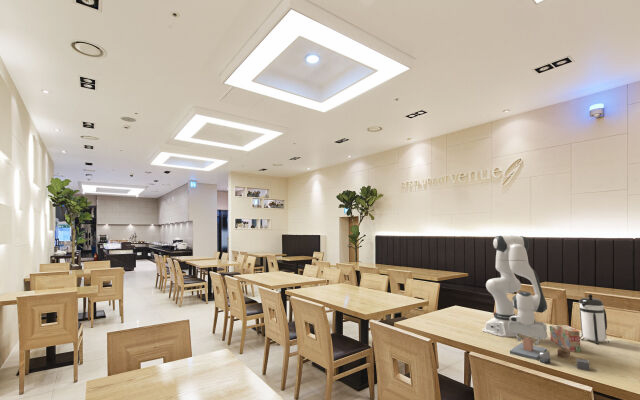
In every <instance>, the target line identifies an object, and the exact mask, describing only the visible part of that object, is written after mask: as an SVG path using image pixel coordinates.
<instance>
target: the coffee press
mask: <svg viewBox="0 0 640 400" xmlns="http://www.w3.org/2000/svg"><path fill="white" fill-rule="evenodd" d="M587 296H588V297H581V298H580V299H579V300H578V304H579V316H580V317H579V318H580V328H581V335H580V341H583V340H589V341H593V342H595V345H598V346H599V344H600V342H605V343H607V342H608V343H607V344H609V343H610V341H609V340H608V338H607V332H606V331H607V329H608V321H607V320H608V319H607V311H606V309H605V308H604V306H605V305H604V303H603V301H602V300H601V299H598V298H596V297H593V295H592V294H591V293H590V294H588V295H587ZM582 337H583V338H582ZM606 340H607V341H606Z"/></svg>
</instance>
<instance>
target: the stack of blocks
mask: <svg viewBox="0 0 640 400" xmlns="http://www.w3.org/2000/svg"><path fill="white" fill-rule="evenodd" d="M549 331H550V332H549V334H550V340H551V341H553V343H556V344H557V345H559V346H560V347H561V348H564V349H569V350H570V352H580V353H581V352H582V351H581V350H582V349H581V339H580V337H581V334H580V330H578V329H576V328H574V327H572V326H570V325H567V324H557V325H549Z"/></svg>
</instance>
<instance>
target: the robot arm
mask: <svg viewBox="0 0 640 400" xmlns="http://www.w3.org/2000/svg"><path fill="white" fill-rule="evenodd" d="M492 241H493V242H492V245H493V248H494V249H495V250H496V253H495V254H496V255H495V270H496V271H497V272H499V274H500V277H495V278H494V277H493V278H489V279H488V280H487V281H486V283H485V287H486V290H487V291H488V293H490V294H491V295H492V297H493V300H494V302H495V310H496V311H494V312H493V314H492V316H493V317H492V318H490V319H489V320H487V321H486V322H485V326H484V327H483V328H481V330H482V332H483V331H484V332H483V333H487V334H491V335H495V336H499V337H501V338H502V337H511V338H513V337H516V339H517V340H516V341H517V342H521V341H522V340H521V339H522V338H521V337H520V336H519V335H523V336H527V337H532V338H536V341H534V346H539V344H540V343H539V342H540V341H541V339H542V340H546V339H547V338H548V331H547V329H548V328H547V324H546V323H544V322H543V321H538V320H536V316H535V315H536V314H535V313H540V314H541V313H544V312H546V311H547V309H548V302H547V300H546V297H545V295H544V292H543V289H542V286H541V283H540V280H539V275H538V274H537V272H536V270H535V269H533V268H532V266H531V265H530V263H529V259H528V253H527V252H528V250H529V248H530V241H529V239H528V238H527V237H526V236H523V235H520V236H518V235H497V236H495V237H494V238H493V240H492ZM516 275H517V276H520V277H522V278H524V279H527V280H529V281H530V283H531V285H532V288H533V292H534V295H532V292H531V293H530V292H529V291H525V290H523V291H522V290H521V289H522V284H521V281H520V280H519V279H518V278H517V277H516ZM520 290H521V291H520ZM516 292H517V293H516ZM513 293H516V294H515V295H514V296H513V297H512V300H511V299H509V297H508V294H513ZM514 309H516V310H517V314H515V310H514Z"/></svg>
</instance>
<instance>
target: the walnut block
mask: <svg viewBox="0 0 640 400" xmlns="http://www.w3.org/2000/svg"><path fill="white" fill-rule="evenodd" d="M556 350H557V357H558V358H562V359H567V360H569V359H570V357H571V351H570V350H569V349H565V348H564V347H558V348H557V349H556Z"/></svg>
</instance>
